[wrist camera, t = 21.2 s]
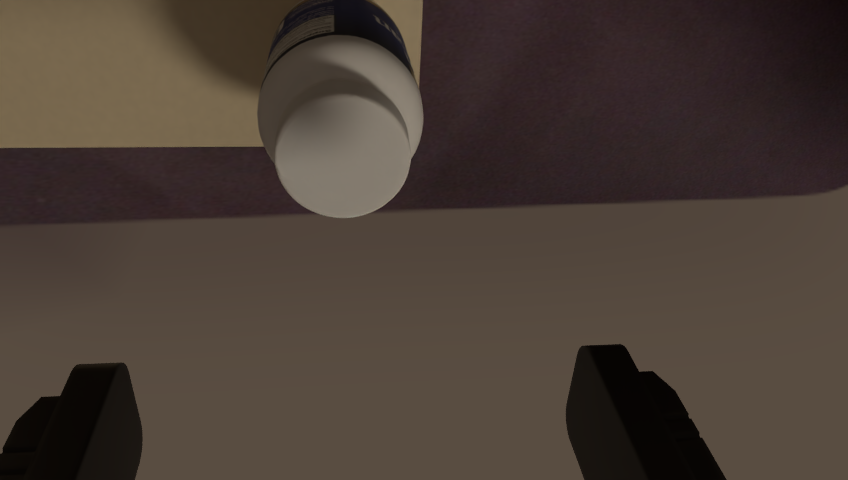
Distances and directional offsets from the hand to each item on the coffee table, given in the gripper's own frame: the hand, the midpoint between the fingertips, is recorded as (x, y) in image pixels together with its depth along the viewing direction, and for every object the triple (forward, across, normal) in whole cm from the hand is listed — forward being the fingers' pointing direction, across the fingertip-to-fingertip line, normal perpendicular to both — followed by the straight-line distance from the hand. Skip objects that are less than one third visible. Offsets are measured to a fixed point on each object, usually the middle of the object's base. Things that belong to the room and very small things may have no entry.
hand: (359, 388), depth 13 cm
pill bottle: (+19, 0, 0) cm, 19 cm away
